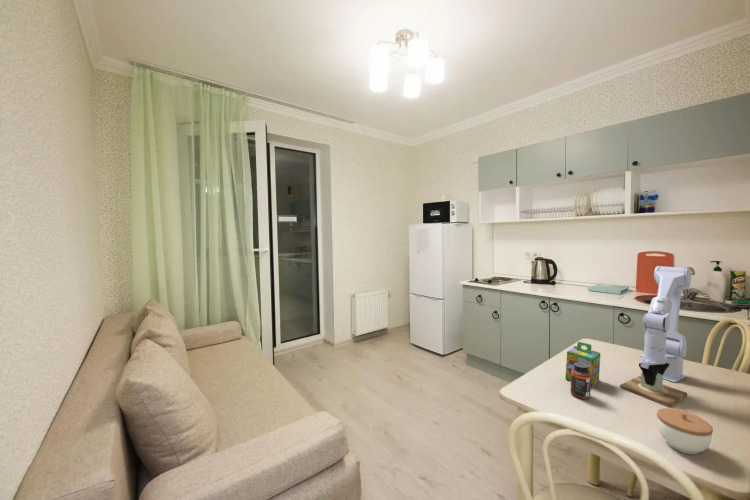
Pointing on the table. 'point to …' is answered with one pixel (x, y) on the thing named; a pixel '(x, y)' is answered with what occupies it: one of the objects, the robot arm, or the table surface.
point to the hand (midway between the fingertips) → (653, 382)
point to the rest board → (654, 392)
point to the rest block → (656, 386)
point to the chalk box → (583, 361)
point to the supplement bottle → (580, 381)
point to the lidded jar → (684, 430)
